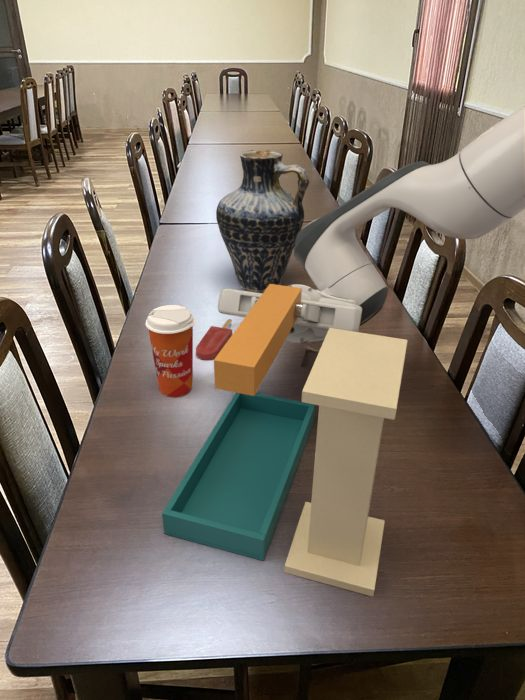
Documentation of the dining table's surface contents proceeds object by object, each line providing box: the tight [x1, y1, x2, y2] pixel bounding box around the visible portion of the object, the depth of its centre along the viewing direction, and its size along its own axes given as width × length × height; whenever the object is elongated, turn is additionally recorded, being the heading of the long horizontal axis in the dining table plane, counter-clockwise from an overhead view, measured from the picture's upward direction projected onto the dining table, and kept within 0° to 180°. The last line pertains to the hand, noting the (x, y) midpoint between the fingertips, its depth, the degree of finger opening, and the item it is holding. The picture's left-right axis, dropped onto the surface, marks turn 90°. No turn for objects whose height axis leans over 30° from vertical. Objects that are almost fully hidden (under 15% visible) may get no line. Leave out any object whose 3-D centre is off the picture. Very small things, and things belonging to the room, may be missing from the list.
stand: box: [283, 328, 408, 598], centre depth 57 cm, size 12×10×26 cm
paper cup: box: [145, 304, 196, 398], centre depth 88 cm, size 8×8×14 cm
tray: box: [161, 392, 316, 562], centre depth 73 cm, size 27×13×4 cm, turn 163°
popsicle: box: [195, 318, 233, 361], centre depth 105 cm, size 4×2×15 cm
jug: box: [215, 149, 310, 293], centre depth 121 cm, size 21×19×30 cm
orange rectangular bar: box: [213, 284, 302, 396], centre depth 64 cm, size 20×4×4 cm, turn 163°
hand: (277, 307), depth 68 cm, fingers closed on orange rectangular bar, 4 cm apart
